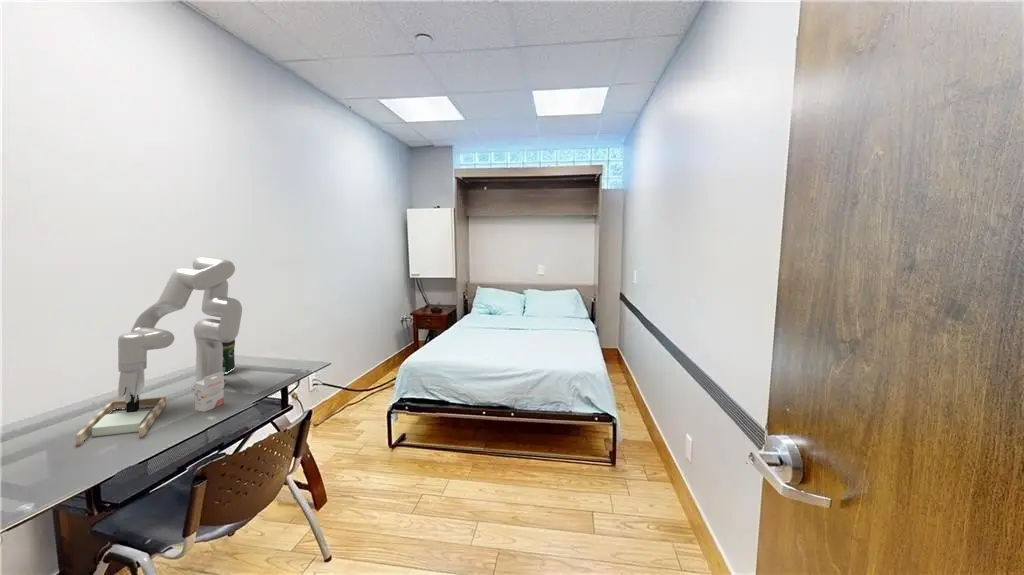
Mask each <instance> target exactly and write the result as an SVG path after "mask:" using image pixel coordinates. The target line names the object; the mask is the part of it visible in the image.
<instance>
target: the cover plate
mask: <svg viewBox="0 0 1024 575" xmlns="http://www.w3.org/2000/svg"><path fill="white" fill-rule="evenodd" d="M150 413H151V410H142V411H140V410H139V411H137V412H129V413H127V412H121V413H111V414H106V415H105V416H104V417H103V418H102V419H101V420H100V421H99V422H97V423H96V424H95V425H94V426H93V427H92V433H91V436H92V437H101V436H109V435H117V434H119V435H120V434H128V433H137V432H138V433H139V427H140V426H141V425H142V423H143V422H144V421H145V419H146V418H147V417H148V416H149V414H150Z"/></svg>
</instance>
